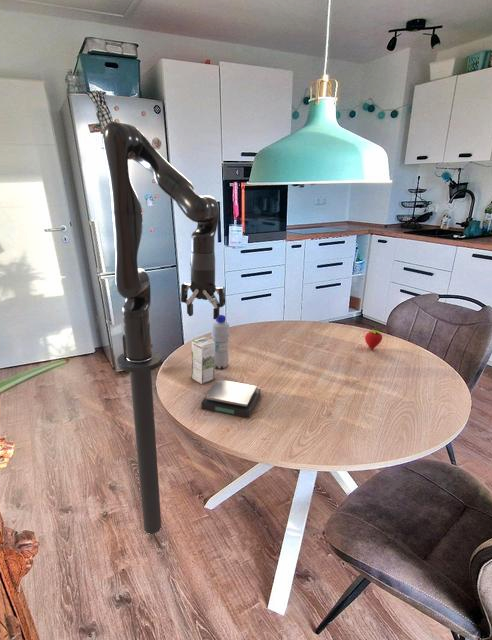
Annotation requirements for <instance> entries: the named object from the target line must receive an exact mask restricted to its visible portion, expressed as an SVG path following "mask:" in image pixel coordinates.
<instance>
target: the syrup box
mask: <svg viewBox="0 0 492 640" xmlns="http://www.w3.org/2000/svg"><path fill="white" fill-rule="evenodd" d="M214 366H215V342H214V341H212V339H210V338H208V337H201V338H197V339H194V340H191V379H192V380H194V381H195V382H197V383H199V384H201V385H203V384H206V383H208V382H210V381H213V380H215V367H214Z"/></svg>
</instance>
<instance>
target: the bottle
mask: <svg viewBox="0 0 492 640" xmlns="http://www.w3.org/2000/svg"><path fill="white" fill-rule="evenodd" d="M210 333H211V335H210V336H211V338H212V339H211V340H212V341H214V342H215V366H214V369H216V368H217V369H219V370H220V369H221V368H222V369H225V368H226V367H228V365H229V361H230V359H229V342H230V341H229V340H230V339H229V338H230V334H231V331H230V323H228V321H226V316H225V315H223V314H219V317H218V318H217V319H215V321H214V322H213V323H212V325H211V331H210Z"/></svg>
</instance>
